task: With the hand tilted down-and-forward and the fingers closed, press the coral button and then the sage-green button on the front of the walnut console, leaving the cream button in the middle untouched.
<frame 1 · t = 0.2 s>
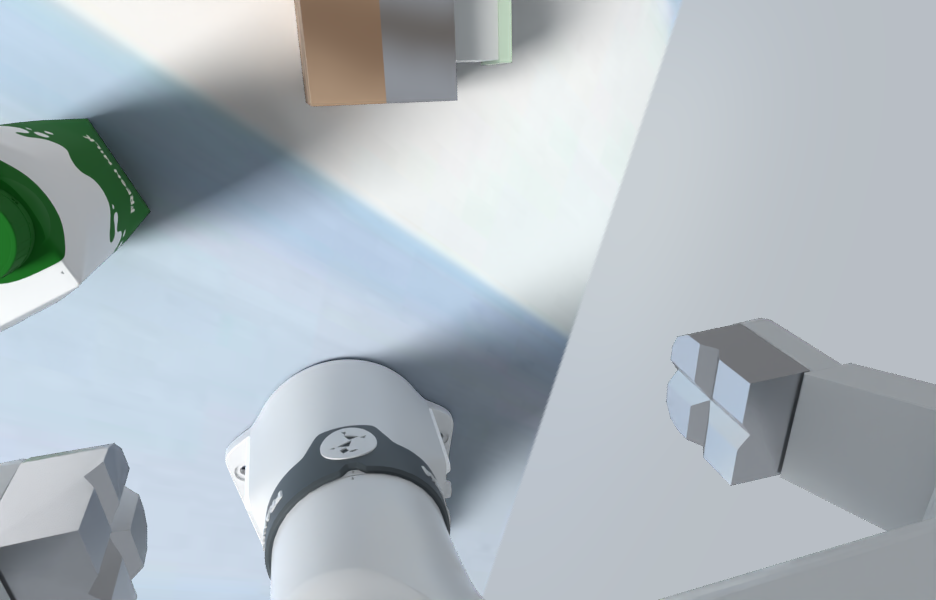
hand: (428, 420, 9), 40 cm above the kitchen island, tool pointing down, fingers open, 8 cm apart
sage button: (464, 30, 39), point 7 cm above the kitchen island, slide at 0.0 cm
milk carton: (71, 189, 42), on the kitchen island
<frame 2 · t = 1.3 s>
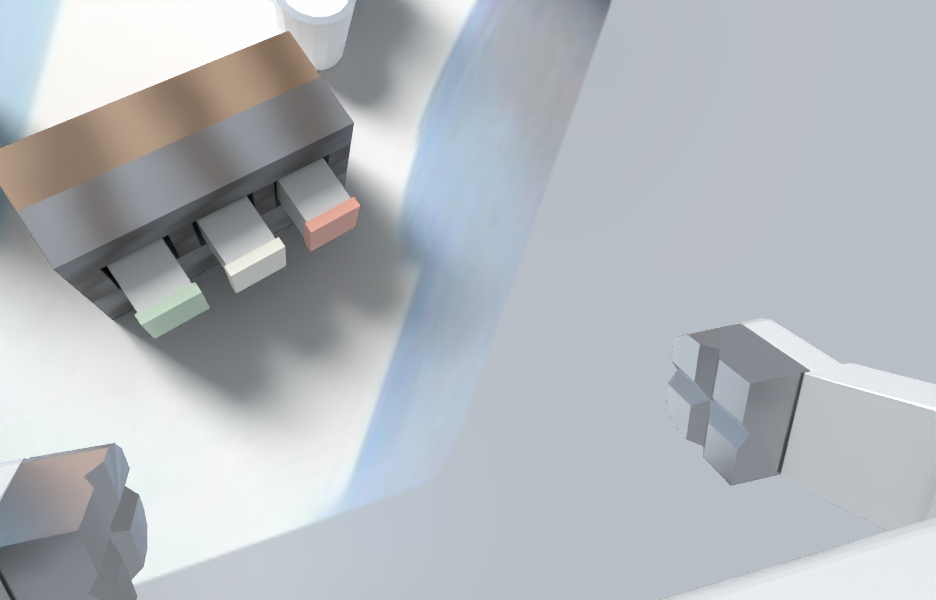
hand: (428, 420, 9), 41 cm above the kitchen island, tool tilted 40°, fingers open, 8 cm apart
cream button: (241, 242, 43), point 7 cm above the kitchen island, slide at 0.0 cm
sage button: (158, 286, 41), point 7 cm above the kitchen island, slide at 0.0 cm
console: (208, 213, 50), on the kitchen island
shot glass: (312, 45, 57), on the kitchen island
coral button: (316, 202, 45), point 7 cm above the kitchen island, slide at 0.0 cm
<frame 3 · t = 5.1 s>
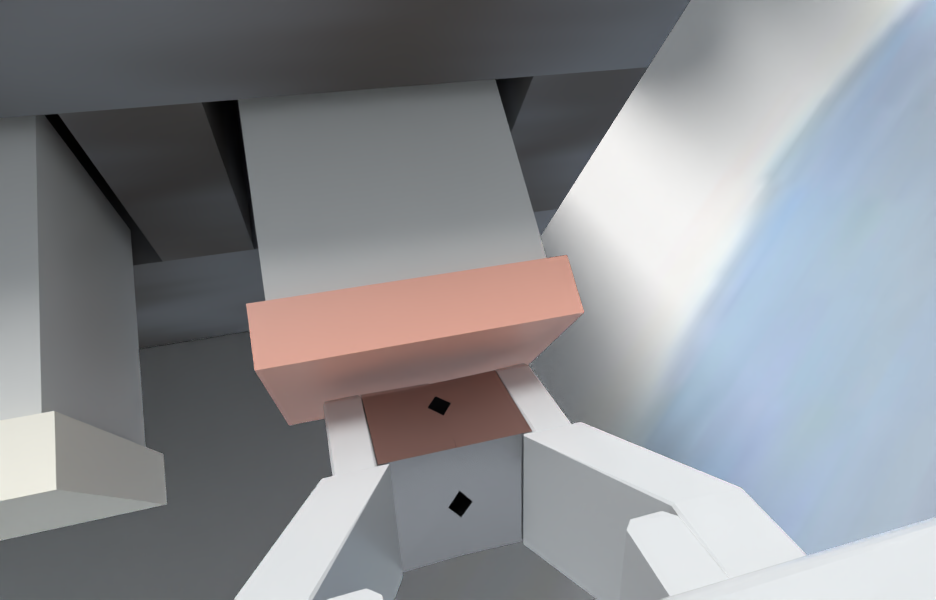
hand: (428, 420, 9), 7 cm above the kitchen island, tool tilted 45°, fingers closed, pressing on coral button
console: (113, 207, 17), on the kitchen island
coral button: (384, 232, 10), point 7 cm above the kitchen island, slide at 0.9 cm, touching gripper
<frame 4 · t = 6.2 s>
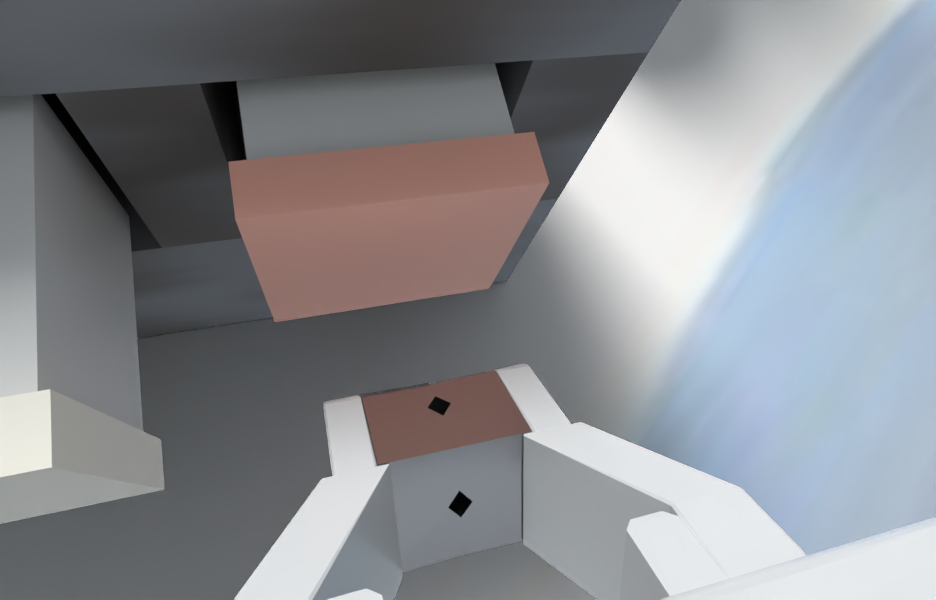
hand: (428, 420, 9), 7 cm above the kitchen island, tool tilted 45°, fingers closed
console: (113, 197, 17), on the kitchen island
coral button: (366, 131, 10), point 7 cm above the kitchen island, slide at 2.5 cm
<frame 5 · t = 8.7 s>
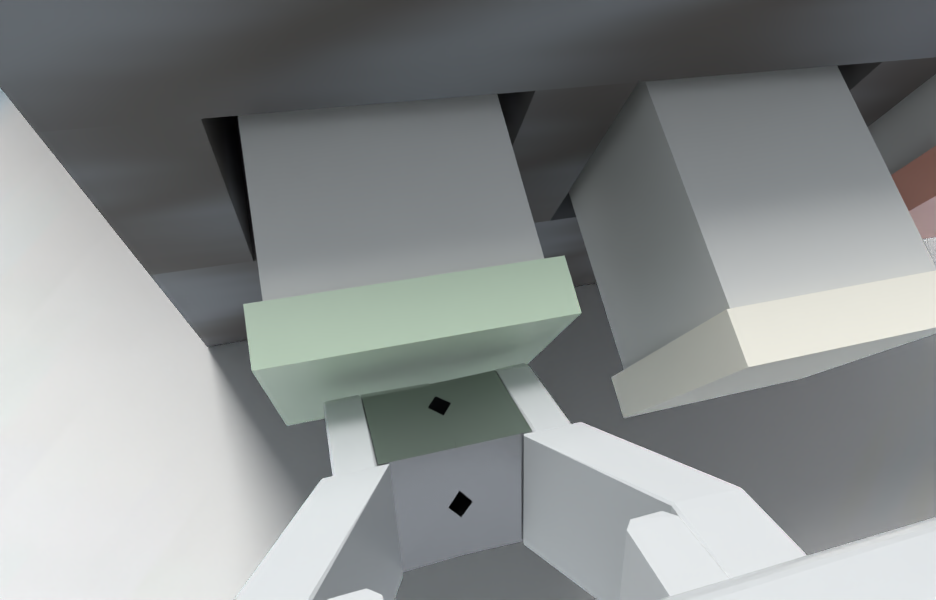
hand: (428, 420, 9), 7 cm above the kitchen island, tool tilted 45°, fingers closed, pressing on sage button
cream button: (730, 243, 11), point 7 cm above the kitchen island, slide at 0.0 cm
sage button: (382, 232, 10), point 7 cm above the kitchen island, slide at 1.1 cm, touching gripper
console: (536, 167, 19), on the kitchen island
coral button: (934, 99, 13), point 7 cm above the kitchen island, slide at 2.5 cm
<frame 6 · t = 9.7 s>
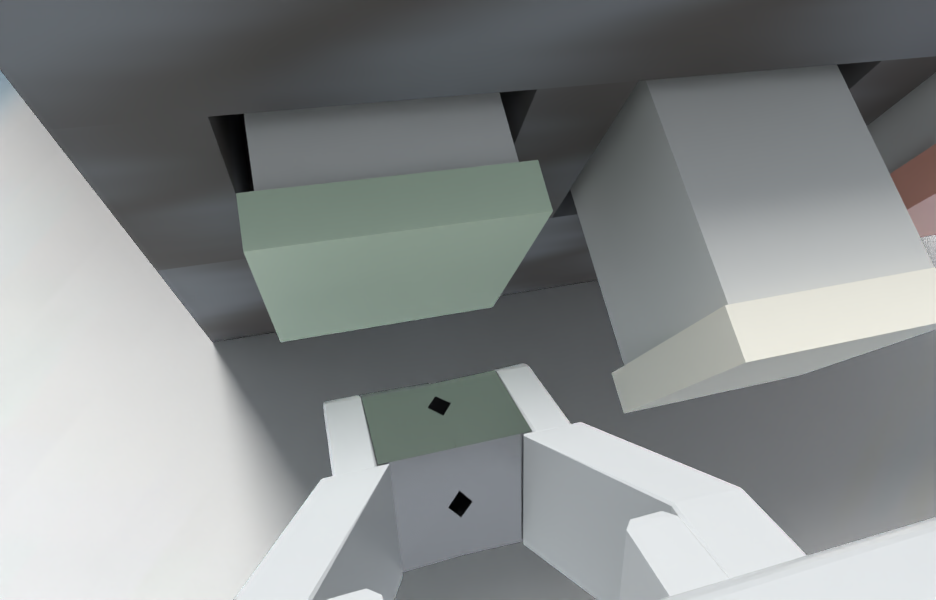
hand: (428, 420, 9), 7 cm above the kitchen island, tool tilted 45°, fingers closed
cream button: (730, 240, 11), point 7 cm above the kitchen island, slide at 0.0 cm
sage button: (370, 154, 11), point 7 cm above the kitchen island, slide at 2.5 cm
console: (539, 164, 19), on the kitchen island
coral button: (934, 97, 13), point 7 cm above the kitchen island, slide at 2.5 cm
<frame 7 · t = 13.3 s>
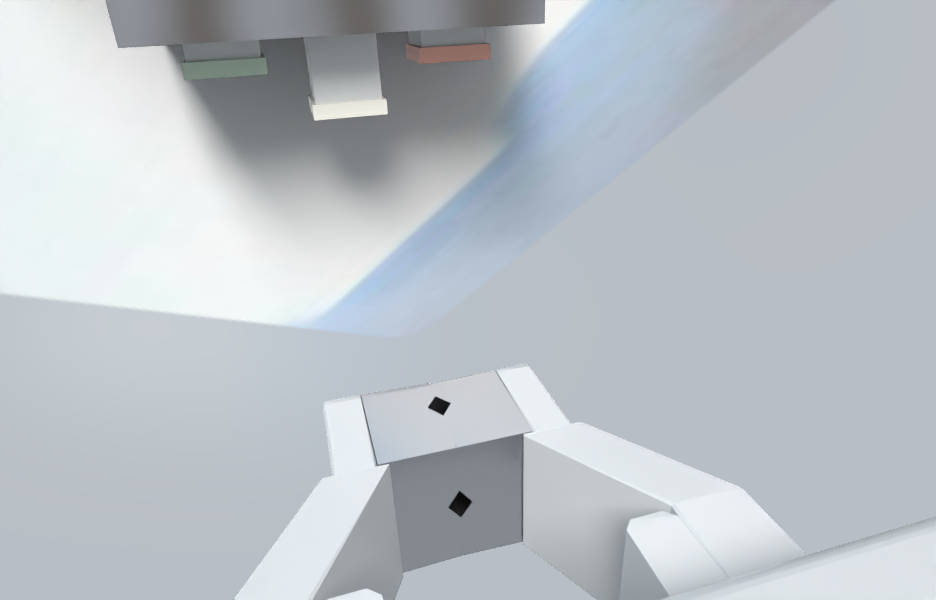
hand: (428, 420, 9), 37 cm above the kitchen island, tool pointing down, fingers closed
cream button: (342, 67, 35), point 7 cm above the kitchen island, slide at 0.0 cm
sage button: (219, 24, 32), point 7 cm above the kitchen island, slide at 2.5 cm
coral button: (444, 12, 35), point 7 cm above the kitchen island, slide at 2.5 cm
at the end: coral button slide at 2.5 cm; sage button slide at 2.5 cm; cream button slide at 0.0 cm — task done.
